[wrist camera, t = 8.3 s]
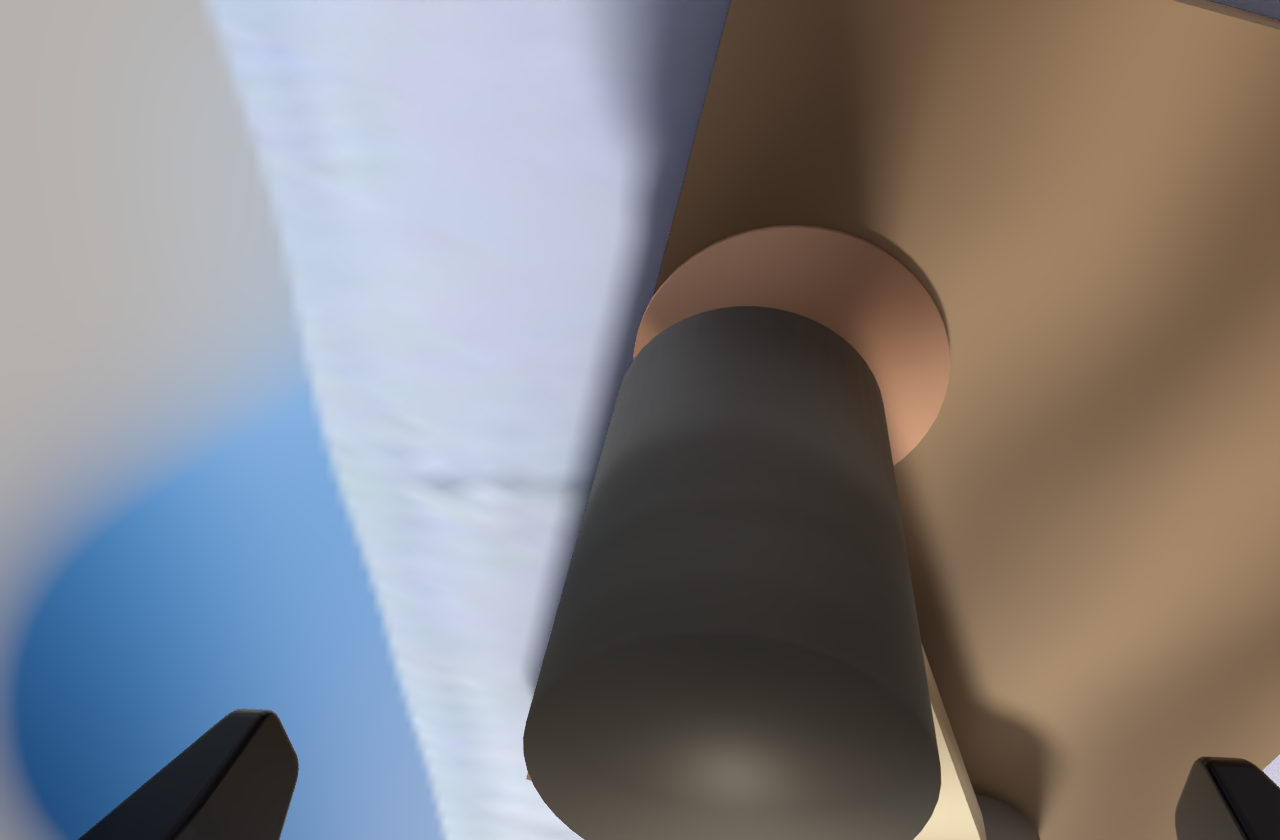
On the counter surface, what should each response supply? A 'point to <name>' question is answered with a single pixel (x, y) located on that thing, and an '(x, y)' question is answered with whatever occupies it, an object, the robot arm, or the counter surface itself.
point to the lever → (747, 611)
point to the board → (1035, 353)
